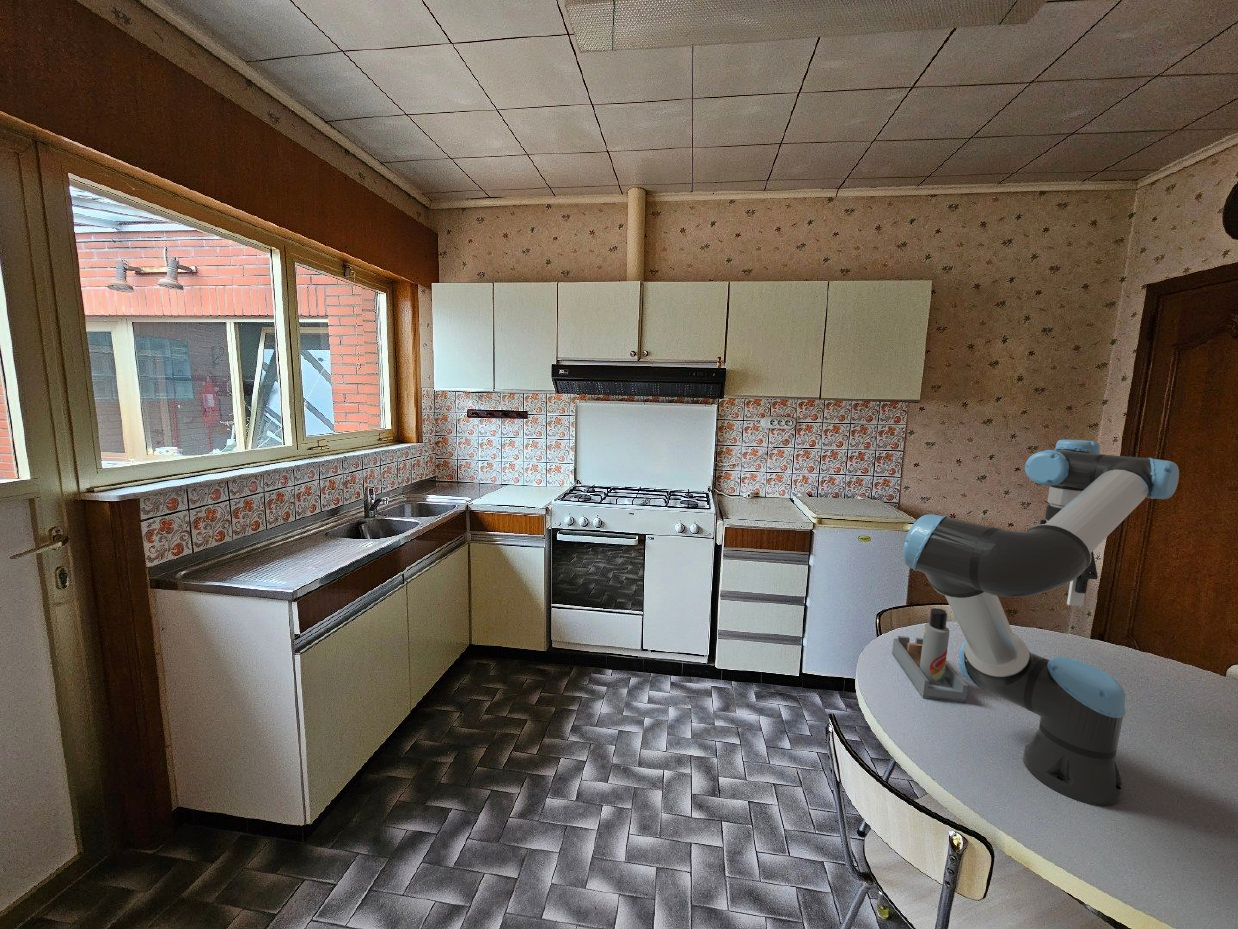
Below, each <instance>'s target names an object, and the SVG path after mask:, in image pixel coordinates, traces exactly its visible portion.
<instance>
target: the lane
mask: <svg viewBox="0 0 1238 929" xmlns="http://www.w3.org/2000/svg"><path fill="white" fill-rule="evenodd" d="M910 640H911V639H910V637H909V636H904V635H897V638H893V640H892V641H893V642H892V652H891V654H892V656H893V657H894V659H895V661H896V662H897V663H898V665H899V667H900V668H901V669H902V670H903V672H904V674H905V675H906V676H907V678H908V679H909V681H910V682H911V684H912V685H913V686H914V688H915V689H916V692H918V694H919V696H920V697H921V698H922V699H923V700H924V699H925V700H931V699H932V700H933V701H940V700H942V701H943V702H949V701H950V702H951V703H959V704H966V703H967V695H968V687H969V685H968V683H966V682H965V681H964V680H963V678H962V677H961V676H960V675H959V673H958V672H957V671H956V670H955V669H954V668H953V667H952V666H951V664H950V663H948V661H947V660H946V664H945V672H944V679H943V683H942V684H941V685H933V684H929V680H928V679H927V678H926V676H925V675H924V674H923V672H922V671H921V670H920V666H918V665H917V664H916V663H915V662H914V660H913V659H912V658H911V656H910V655H909V654H908V652H907V645H908V643H910ZM914 643H915V644H923V637H915V641H914ZM932 700H931V701H932Z"/></svg>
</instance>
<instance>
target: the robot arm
mask: <svg viewBox="0 0 1238 929" xmlns="http://www.w3.org/2000/svg"><path fill="white" fill-rule="evenodd" d="M1100 449H1101V445H1100V444H1099V442H1097V441H1095V440H1094V441H1093V440H1083V439H1059V440H1058V441H1057V442H1056V444H1055V448H1054V449H1053V450H1052V449H1045V450H1042V451H1038V452H1035V453H1033V454H1032V455H1030V456H1029V457H1028V459H1026V462H1025V465H1024V471H1025V475H1026V476H1027V478H1029V480H1030V481H1032V482H1033V483H1035V484H1037V485H1041V486H1049V489H1048V495H1047V503H1049V504H1048V505H1047V506H1046V510H1045V516H1044V519H1040V521H1039V524H1037V525H1033V526H1031V527H1030V528H1029V529H1027V530H1026V531H1014V530H1009V529H1008V530H1007V529H1004V528H999V527H994V526H989V525H985V524H981V523H975V522H971V521H965V520H960V519H956V518H951V517H948V515H938V514H932V513H931V514H925V515H922V516H921V517H919V518H917V520H916V521H914V523H913V524H912V525H911V527H910V528H909V530H908V532H907V534H906V537H905V540H904V543H903V549H902V550H903V551H902V558H903V562H904V564H905V565H906V566H907V568H909V569H912V570H913V571H915V572H920V573H923V574H925V576H926V578H927V580H928V583H929V584H930V586H931V587H932V588H933V589H934V590H935V591H936V592H937V593H938V594H940V595H941V596H942V595H943V596H944V597H945V598H946V601H947V603H948V605H949V607H950V609H951V612H952V613H953V615H954V618H955V620H956V622H957V624H958V625H959V628H960V630H961V632H962V634H963V636H964V640H963V642H962V644H961V646H960V648H959V652H958V658H959V661H958V667H959V670H960V673H961V674H962V676H963V677H964V679H966V680H967V681H968V682H969V683H972V684H973V685H974V686H976V687H978V688H979V689H981V690H984V691H988V692H989V693H992V694H994V695H996V696H998V697H1000V698H1002V699H1003V700H1007V701H1009V702H1011V703H1012V704H1015V705H1016V706H1019V707H1021V708H1023V709H1025V710H1027V711H1029V712H1031V713H1034V714H1036V715H1038V716H1039V725H1038V729H1037V730H1036V732H1035V733H1034V735H1033V736H1032V737H1031V739H1030V741H1029V742H1028V744H1026V745H1025V747H1024V749H1023V750H1024V751H1023V757H1022V761H1023V764H1024V766H1025V768H1026V769H1027V770H1028V772H1029V773H1030V774H1031V775H1032V776H1033V777H1035V779H1037V781H1039V782H1040V783H1042V784H1044V785H1045V786H1047V787H1049V788H1050V789H1052V790H1054V791H1056V792H1058V793H1059V794H1061V795H1063V796H1065V797H1067V798H1070V799H1073V800H1075V801H1079V802H1081V803H1085V804H1088V805H1093V806H1097V807H1113V806H1116V805H1118V804H1120V803H1121V801H1122V798H1123V793H1124V792H1123V791H1124V786H1123V781H1122V778H1121V774H1120V770H1119V766H1118V763H1117V758H1116V756H1117V751H1118V745H1119V741H1120V740H1119V739H1120V735H1121V730H1122V726H1123V720H1124V717H1125V716H1126V715H1125V714H1126V709H1125V705H1126V691H1125V690H1124V688H1123V686H1122V685H1121V684H1120V683H1119V682H1118V681H1117V680H1116V678H1114V677H1113V676H1111V675H1110V674H1108V673H1107V672H1106V671H1105V670H1102V669H1099V668H1097V667H1096V666H1093V665H1092V664H1089V663H1087V662H1084V661H1082V660H1079V659H1072V658H1070V657H1066V656H1055V657H1054V656H1053V657H1052V658H1051V659H1047V658H1045V657H1043V656H1040V655H1038V654H1035V653H1032V652H1030V649H1029V648H1028V646H1027V643H1026V642H1025V641H1024V640H1023V639H1022V638H1021V637H1020V636H1019V635H1017V634H1016V633H1014V632H1013V630H1012V628H1011V625H1010V622H1009V620H1008V618H1007V615H1006V613H1005V610H1004V608H1003V606H1002V603H1001V601H1000V599H999V597H1003V598H1023V597H1031V596H1036V595H1040V594H1043V593H1047V592H1050V591H1053V590H1055V589H1059V588H1060V587H1063V586H1065V585H1067V584H1069V587H1068V594H1067V600H1066V605H1067V606H1071V607H1072V606H1073V607H1074V606H1075V607H1084V602H1085V596H1086V593H1087V589H1088V583H1089V580H1097V579H1098V577H1099V576H1098V571H1097V570H1098V569H1097V565H1096V560H1095V554H1094V551H1095V550H1096V548H1098V547H1099V545H1100V544H1102V542H1104V540H1106V538H1108V536H1110V534H1111V533H1112V532H1113V531H1115V529H1116V528H1117V527H1118V526H1119V525H1120V524H1121V523H1122V522H1123V521H1124V520H1125V519H1126V518H1127V517H1128V516H1129V515H1130V514H1131V513H1132V512H1133V511H1134V510H1135V509H1136V508H1137V507H1138V506H1139V505H1140V504H1141V503H1142V502H1143V501H1144V500H1145V499H1146V498H1148V499H1150V500H1153V499H1157V500H1168V499H1170V498H1171V497H1172V496H1173V495H1174V494H1175V492H1176V490H1177V487H1178V484H1179V479H1180V469H1179V467H1178V465H1177V464H1176V462H1174V461H1170V460H1165V459H1157V458H1153V457H1137V456H1135V457H1134V456H1125V455H1113V454H1109V455H1108V454H1102V453H1100V452H1101V451H1100Z"/></svg>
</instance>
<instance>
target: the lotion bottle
mask: <svg viewBox="0 0 1238 929" xmlns="http://www.w3.org/2000/svg"><path fill="white" fill-rule="evenodd" d="M929 614H930V615H929V620H928V621H929V622H927V623H925V624H924V628H923V630H924V631H923V636H922V638H923V644H922V653H921V661H920V670H921V671H922V672H923V674H924V675H925V676H926V678H927V679H928V680H929V684H933V685H941V684H942V683H943V679H944V672H945V664H946V661H947V655H948V647H949V639H950V629H949V627H947V620H948V612H947V611H946V610H945V609H942V608H935V607H934V608H931V609H930V612H929Z"/></svg>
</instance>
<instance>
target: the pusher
mask: <svg viewBox="0 0 1238 929" xmlns="http://www.w3.org/2000/svg"><path fill="white" fill-rule="evenodd" d="M907 652H908V654H909V655H910V656H911V658H912V659H913V660H914V662H915V663H916V664H917V665H918V666H920V661H921V653H922V644H915V642H909V643H908V645H907Z"/></svg>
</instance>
